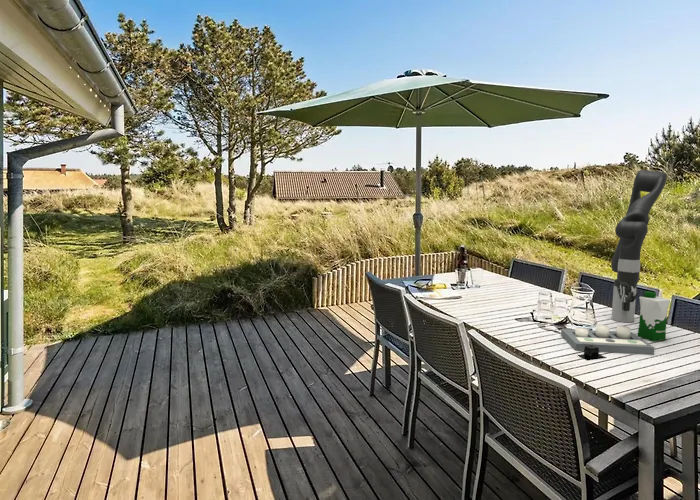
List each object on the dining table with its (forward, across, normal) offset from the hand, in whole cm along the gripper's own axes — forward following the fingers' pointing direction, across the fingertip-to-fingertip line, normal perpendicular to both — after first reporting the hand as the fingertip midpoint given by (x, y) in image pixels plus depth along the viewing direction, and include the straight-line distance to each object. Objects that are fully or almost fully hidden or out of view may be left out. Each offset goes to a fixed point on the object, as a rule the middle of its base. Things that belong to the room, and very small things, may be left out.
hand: (625, 310), depth 163 cm
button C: (+14, 0, -16) cm, 21 cm away
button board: (+14, +2, -8) cm, 17 cm away
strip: (+11, +7, -8) cm, 16 cm away
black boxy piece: (+15, +16, -19) cm, 29 cm away
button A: (+12, 0, 0) cm, 12 cm away
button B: (+12, 0, -8) cm, 15 cm away
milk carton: (+14, -9, +15) cm, 22 cm away
